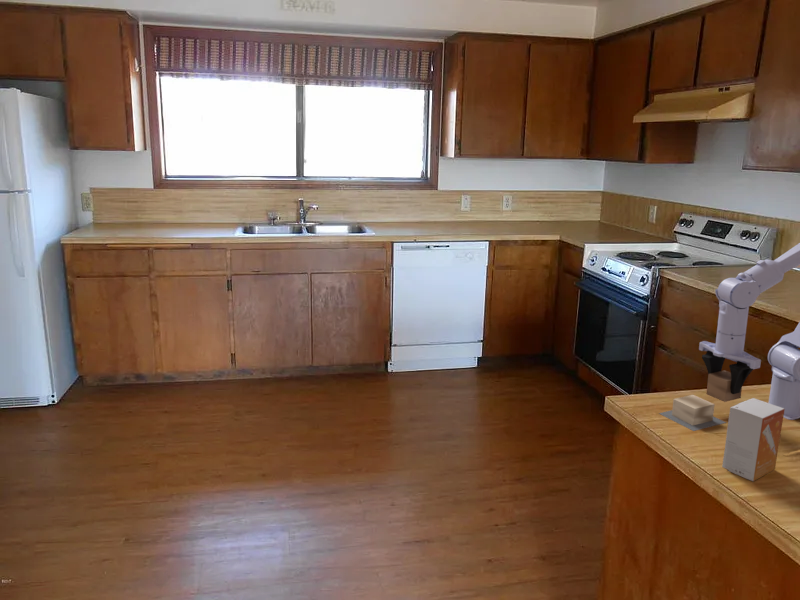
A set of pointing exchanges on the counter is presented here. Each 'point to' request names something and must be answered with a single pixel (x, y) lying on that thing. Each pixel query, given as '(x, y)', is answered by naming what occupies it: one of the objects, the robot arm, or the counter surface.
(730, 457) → the small box
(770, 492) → the counter surface
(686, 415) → the maple block
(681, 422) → the mat
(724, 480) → the counter surface
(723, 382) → the walnut block
